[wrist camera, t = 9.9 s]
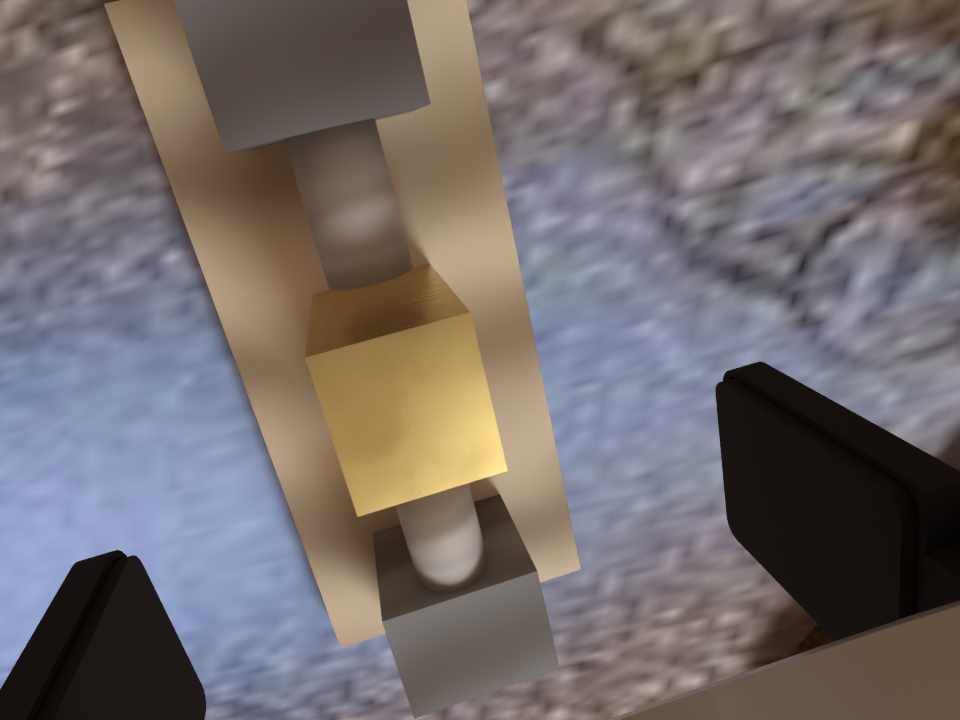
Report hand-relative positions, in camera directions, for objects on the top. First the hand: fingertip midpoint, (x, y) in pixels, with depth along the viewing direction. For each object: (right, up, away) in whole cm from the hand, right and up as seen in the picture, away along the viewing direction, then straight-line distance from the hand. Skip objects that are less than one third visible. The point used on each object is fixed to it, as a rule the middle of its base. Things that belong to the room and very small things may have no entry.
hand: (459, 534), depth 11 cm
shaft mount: (-3, +4, +14) cm, 15 cm away
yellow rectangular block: (-3, +3, +12) cm, 13 cm away
